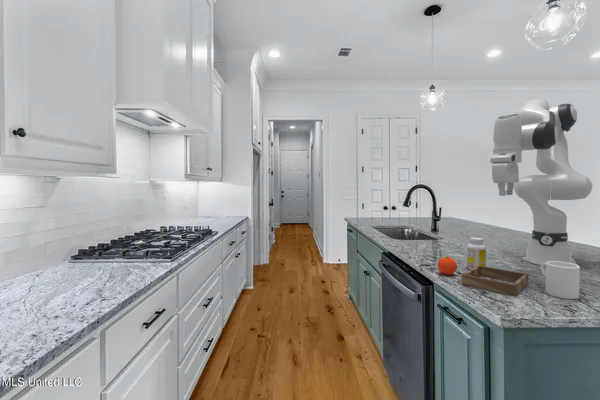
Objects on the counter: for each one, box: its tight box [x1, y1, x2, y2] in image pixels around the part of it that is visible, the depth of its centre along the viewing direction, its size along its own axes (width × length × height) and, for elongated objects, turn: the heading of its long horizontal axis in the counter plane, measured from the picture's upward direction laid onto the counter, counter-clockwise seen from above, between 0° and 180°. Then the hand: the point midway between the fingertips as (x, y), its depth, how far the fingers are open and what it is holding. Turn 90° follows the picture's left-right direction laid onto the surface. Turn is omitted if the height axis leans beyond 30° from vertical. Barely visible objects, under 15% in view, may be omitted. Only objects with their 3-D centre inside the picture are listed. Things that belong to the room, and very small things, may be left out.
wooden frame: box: [461, 266, 529, 297], centre depth 106 cm, size 17×16×4 cm
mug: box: [539, 261, 581, 300], centre depth 97 cm, size 8×12×10 cm, turn 4°
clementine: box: [437, 255, 458, 276], centre depth 119 cm, size 8×7×7 cm
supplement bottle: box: [466, 237, 487, 270], centre depth 125 cm, size 7×7×13 cm
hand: (506, 195), depth 113 cm, fingers open, 8 cm apart
